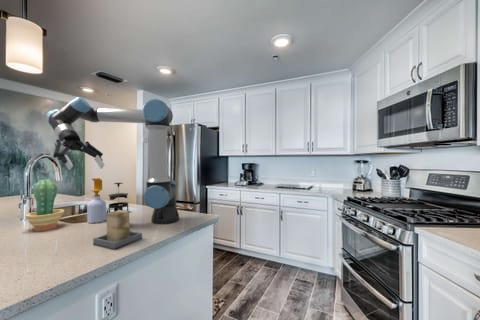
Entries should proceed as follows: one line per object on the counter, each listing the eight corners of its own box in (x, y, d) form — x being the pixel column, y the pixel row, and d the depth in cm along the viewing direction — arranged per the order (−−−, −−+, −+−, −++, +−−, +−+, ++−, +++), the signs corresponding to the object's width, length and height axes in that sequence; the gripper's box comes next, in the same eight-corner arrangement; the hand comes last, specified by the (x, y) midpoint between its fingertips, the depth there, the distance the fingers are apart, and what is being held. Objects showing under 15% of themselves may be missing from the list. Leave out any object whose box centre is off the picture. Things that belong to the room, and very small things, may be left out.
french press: (131, 227, 114) (131, 182, 114) (110, 231, 108) (110, 184, 108) (125, 222, 123) (125, 181, 123) (106, 225, 117) (105, 182, 117)
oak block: (120, 237, 98) (119, 210, 98) (129, 238, 96) (129, 211, 96) (107, 241, 93) (106, 213, 93) (116, 243, 90) (116, 214, 90)
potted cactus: (62, 222, 125) (61, 177, 125) (67, 227, 115) (66, 179, 115) (24, 228, 114) (23, 179, 114) (26, 235, 104) (25, 181, 104)
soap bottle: (84, 224, 121) (84, 179, 121) (91, 219, 130) (90, 177, 130) (103, 222, 123) (102, 178, 123) (108, 218, 132) (107, 177, 132)
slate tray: (121, 234, 103) (121, 229, 103) (142, 238, 97) (142, 233, 97) (93, 244, 91) (93, 238, 91) (114, 250, 86) (114, 243, 86)
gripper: (91, 142, 118) (110, 171, 112) (31, 139, 96) (51, 174, 89) (97, 132, 116) (117, 160, 110) (38, 126, 93) (58, 161, 87)
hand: (87, 167), depth 100 cm, fingers open, 13 cm apart
